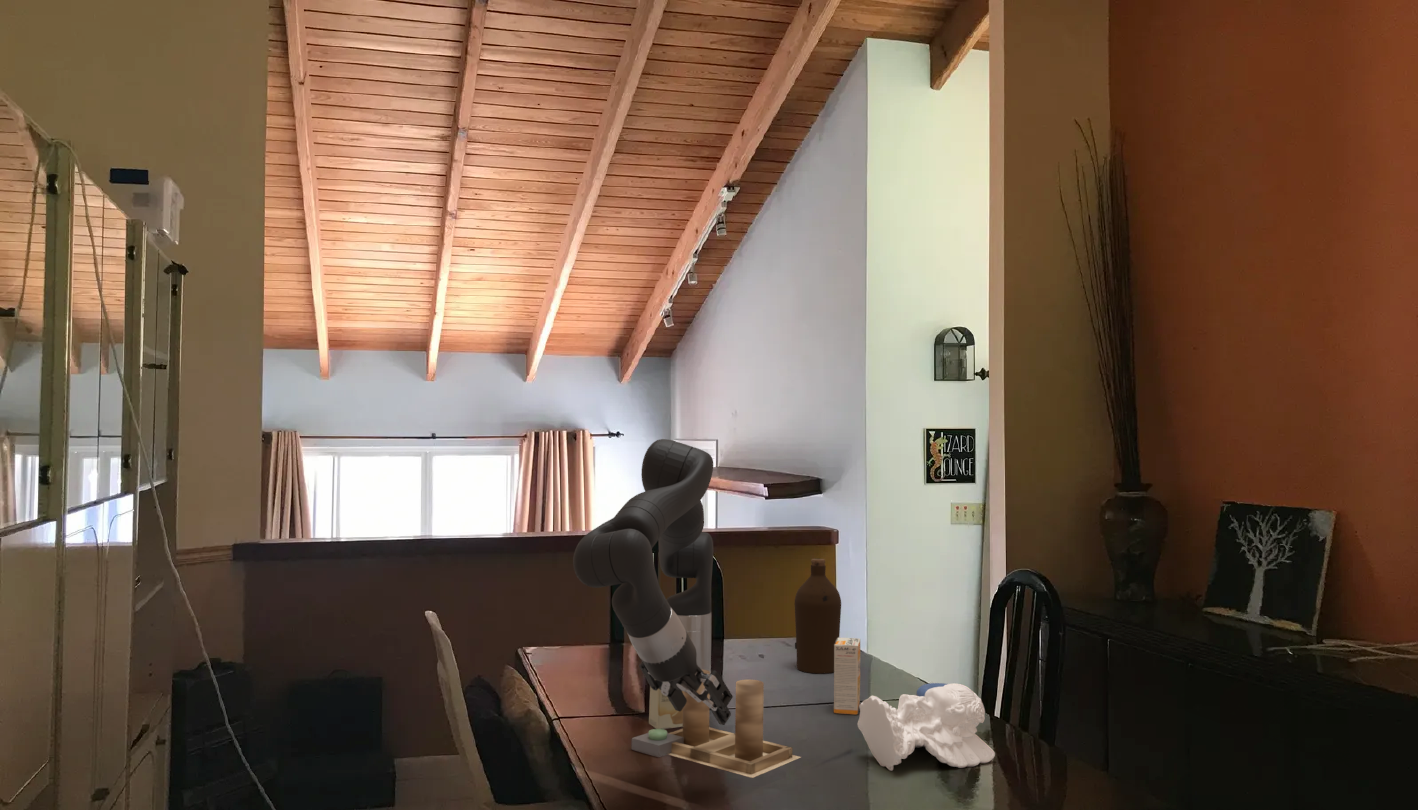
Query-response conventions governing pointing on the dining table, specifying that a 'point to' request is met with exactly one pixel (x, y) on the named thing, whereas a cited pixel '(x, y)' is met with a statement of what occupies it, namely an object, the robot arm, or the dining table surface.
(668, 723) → the skincare box
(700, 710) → the cylinder
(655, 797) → the dining table surface
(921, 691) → the doughnut
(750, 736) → the loose billet
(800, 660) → the olive oil
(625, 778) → the dining table surface
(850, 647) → the supplement box
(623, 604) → the robot arm
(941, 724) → the cherub figurine
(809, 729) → the dining table surface
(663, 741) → the block
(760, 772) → the wooden tray
